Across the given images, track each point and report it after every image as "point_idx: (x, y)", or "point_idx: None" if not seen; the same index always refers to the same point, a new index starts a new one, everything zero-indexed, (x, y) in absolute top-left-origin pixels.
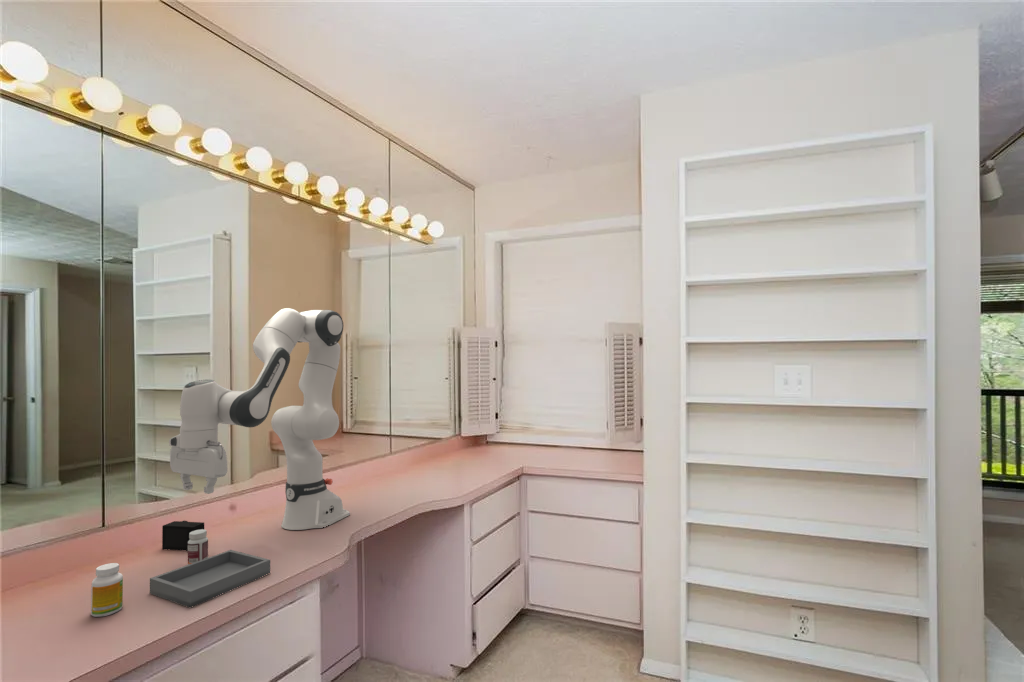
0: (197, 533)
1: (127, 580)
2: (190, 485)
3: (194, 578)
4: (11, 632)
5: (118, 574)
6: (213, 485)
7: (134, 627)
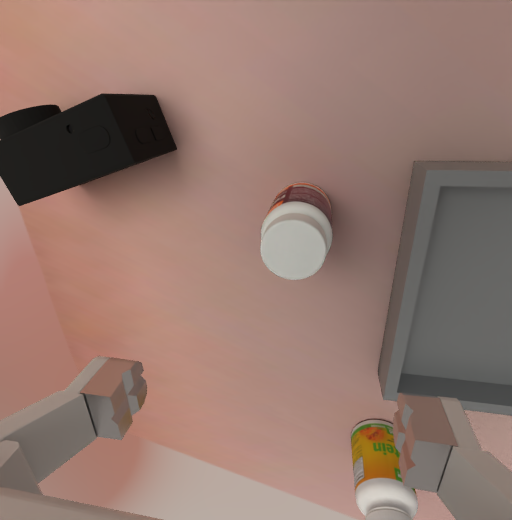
0: (313, 266)
1: (246, 343)
2: (126, 393)
3: (439, 309)
4: (301, 496)
5: (405, 503)
6: (494, 466)
7: (506, 460)
